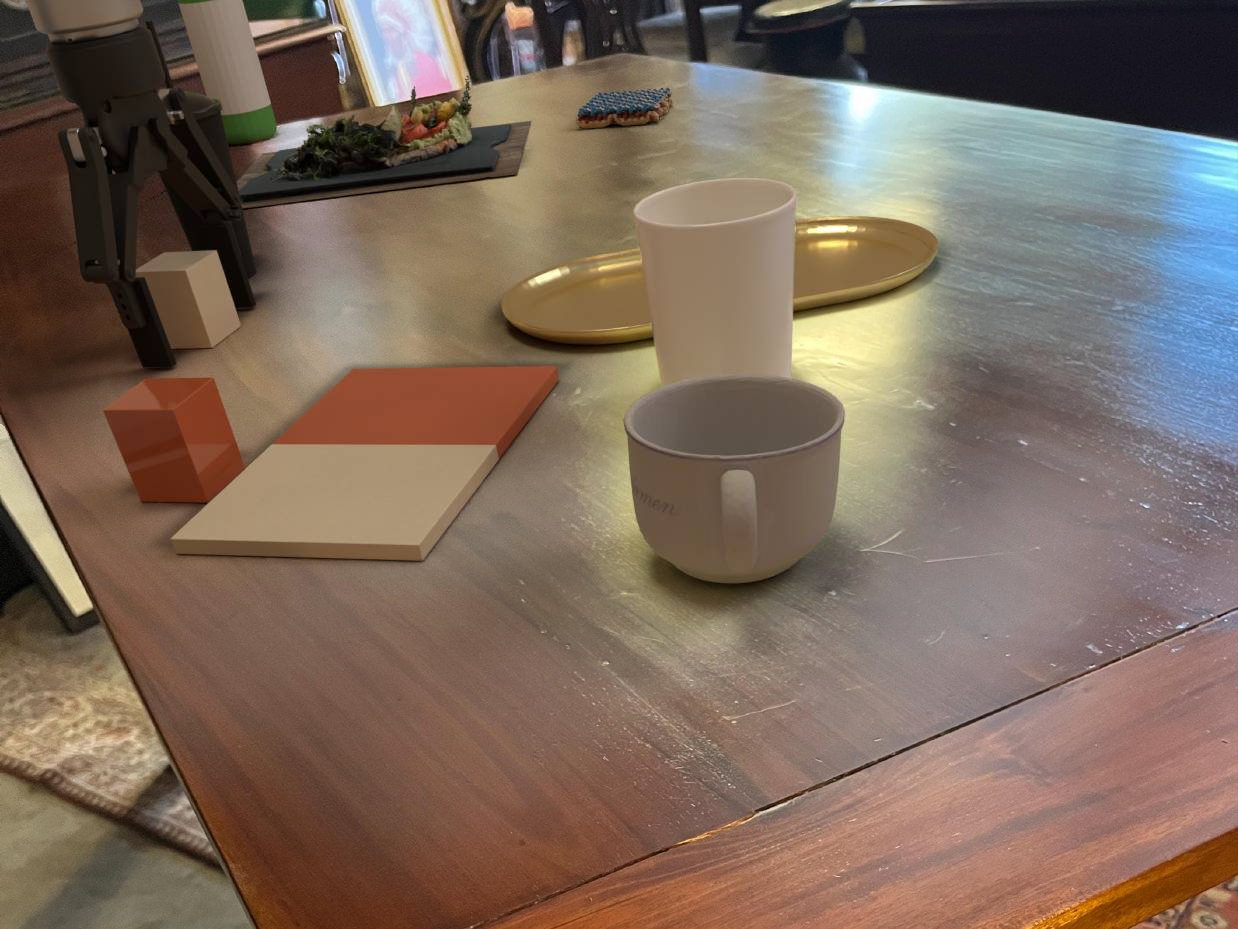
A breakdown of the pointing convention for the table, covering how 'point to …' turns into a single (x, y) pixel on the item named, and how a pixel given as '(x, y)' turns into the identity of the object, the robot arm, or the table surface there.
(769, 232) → the white tumbler
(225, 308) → the cream block
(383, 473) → the sorting board
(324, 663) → the table surface
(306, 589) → the table surface
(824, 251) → the serving platter
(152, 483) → the terracotta block
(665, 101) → the blueberry tart
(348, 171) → the plated dish
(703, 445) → the teacup
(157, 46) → the drinking cup
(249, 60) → the wine bottle
